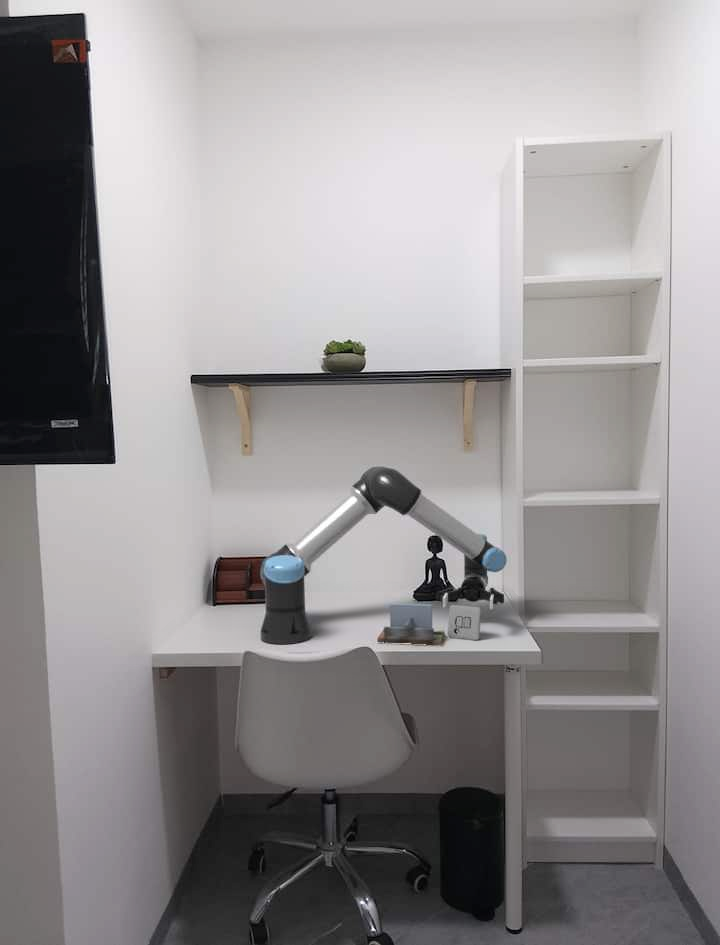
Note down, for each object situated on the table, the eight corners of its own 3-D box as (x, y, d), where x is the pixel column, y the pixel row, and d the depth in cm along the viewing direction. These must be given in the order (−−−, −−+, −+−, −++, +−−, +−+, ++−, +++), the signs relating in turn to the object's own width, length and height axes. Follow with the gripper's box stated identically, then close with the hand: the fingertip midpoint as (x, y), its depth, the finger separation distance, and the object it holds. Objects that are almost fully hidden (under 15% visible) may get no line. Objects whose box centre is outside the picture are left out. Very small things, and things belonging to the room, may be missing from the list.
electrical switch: (447, 637, 208) (447, 605, 209) (453, 634, 213) (453, 603, 213) (478, 641, 204) (478, 608, 204) (483, 638, 209) (484, 606, 209)
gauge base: (377, 643, 204) (377, 627, 204) (384, 633, 214) (383, 618, 214) (440, 646, 200) (440, 630, 200) (444, 635, 210) (444, 620, 210)
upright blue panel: (385, 640, 201) (385, 610, 201) (391, 631, 209) (390, 603, 209) (439, 642, 198) (438, 612, 197) (442, 633, 206) (442, 604, 206)
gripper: (513, 600, 226) (511, 618, 206) (434, 598, 232) (424, 614, 212) (513, 577, 226) (511, 592, 205) (434, 575, 232) (424, 589, 211)
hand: (467, 603), depth 208 cm, fingers open, 13 cm apart
